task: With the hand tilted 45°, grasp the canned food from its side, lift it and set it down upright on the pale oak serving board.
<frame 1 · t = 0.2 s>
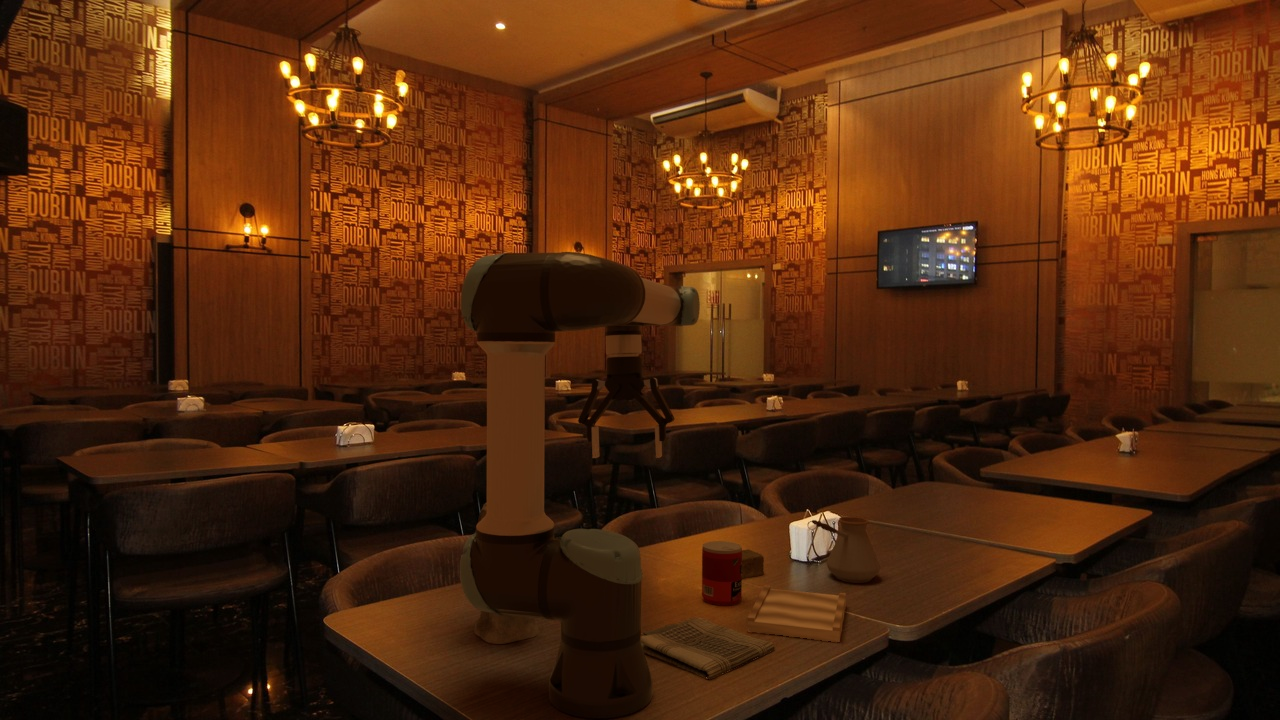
hand: (627, 457, 164), 28 cm above the table, tool pointing down, fingers open, 13 cm apart
figurine: (504, 633, 139), on the table
board: (798, 618, 147), on the table
stone block: (738, 576, 175), on the table
canned food: (721, 600, 158), on the table
dish towel: (701, 653, 132), on the table
coffee pot: (840, 583, 170), on the table
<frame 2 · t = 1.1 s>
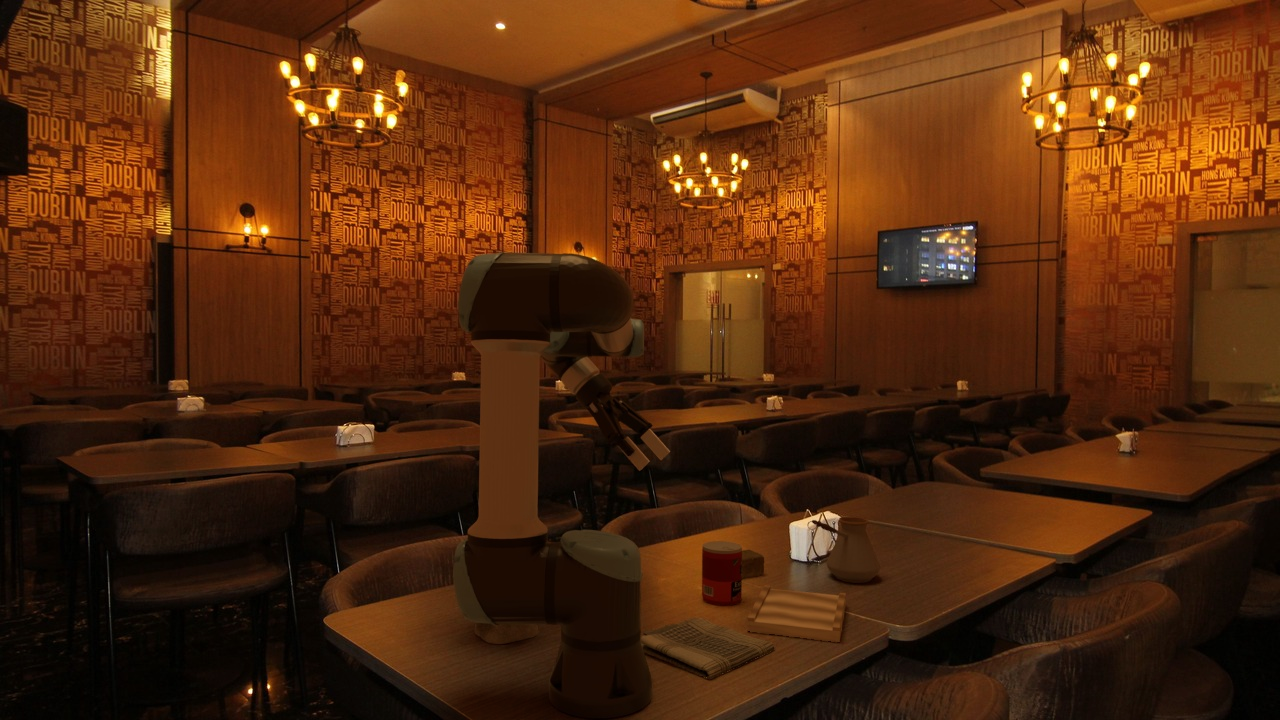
hand: (655, 461, 158), 28 cm above the table, tool tilted 45°, fingers open, 13 cm apart
nothing on the table moved.
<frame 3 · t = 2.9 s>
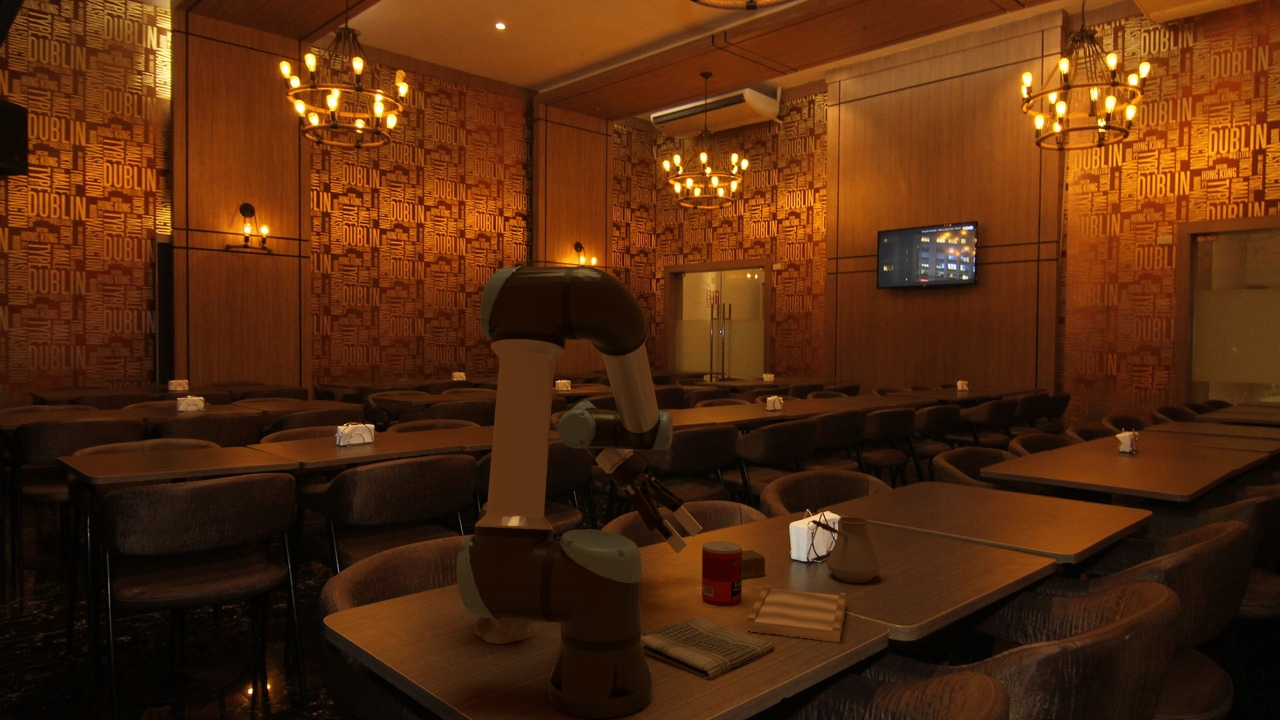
hand: (690, 540, 161), 11 cm above the table, tool tilted 45°, fingers open, 13 cm apart
nothing on the table moved.
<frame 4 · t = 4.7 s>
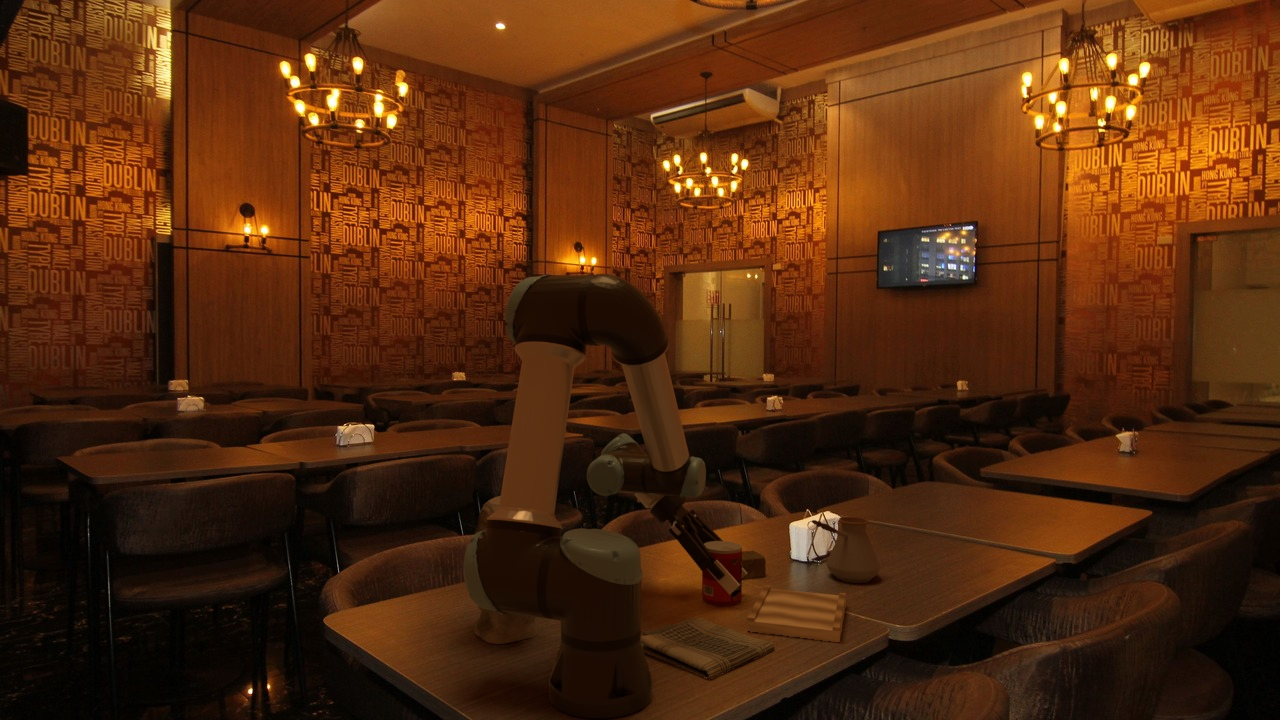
hand: (738, 583, 157), 4 cm above the table, tool tilted 45°, fingers closed on canned food, 8 cm apart
canned food: (721, 600, 158), on the table, touching gripper
everything else where it was.
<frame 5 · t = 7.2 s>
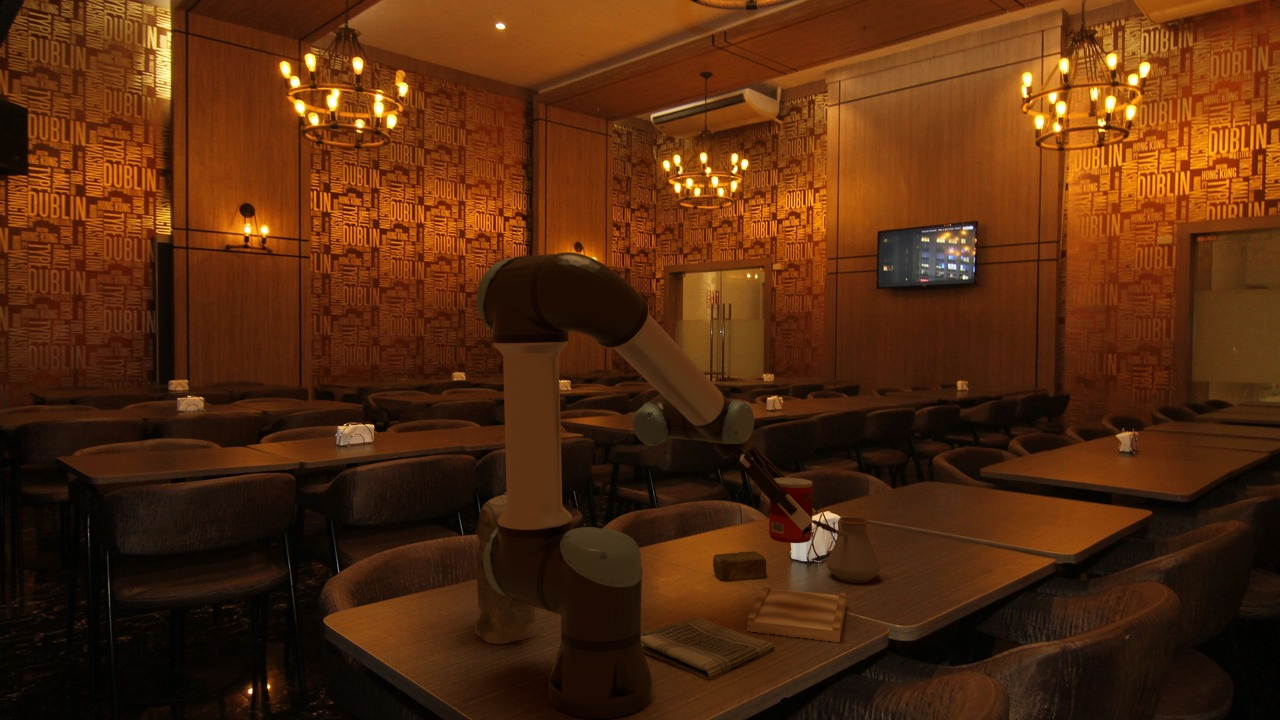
hand: (809, 520, 148), 18 cm above the table, tool tilted 45°, fingers closed on canned food, 8 cm apart
canned food: (790, 539, 149), point 14 cm above the table, touching gripper
when the fingers open (7 cm above the table, at t = 9.9 s): canned food drops 1 cm, resting on board.
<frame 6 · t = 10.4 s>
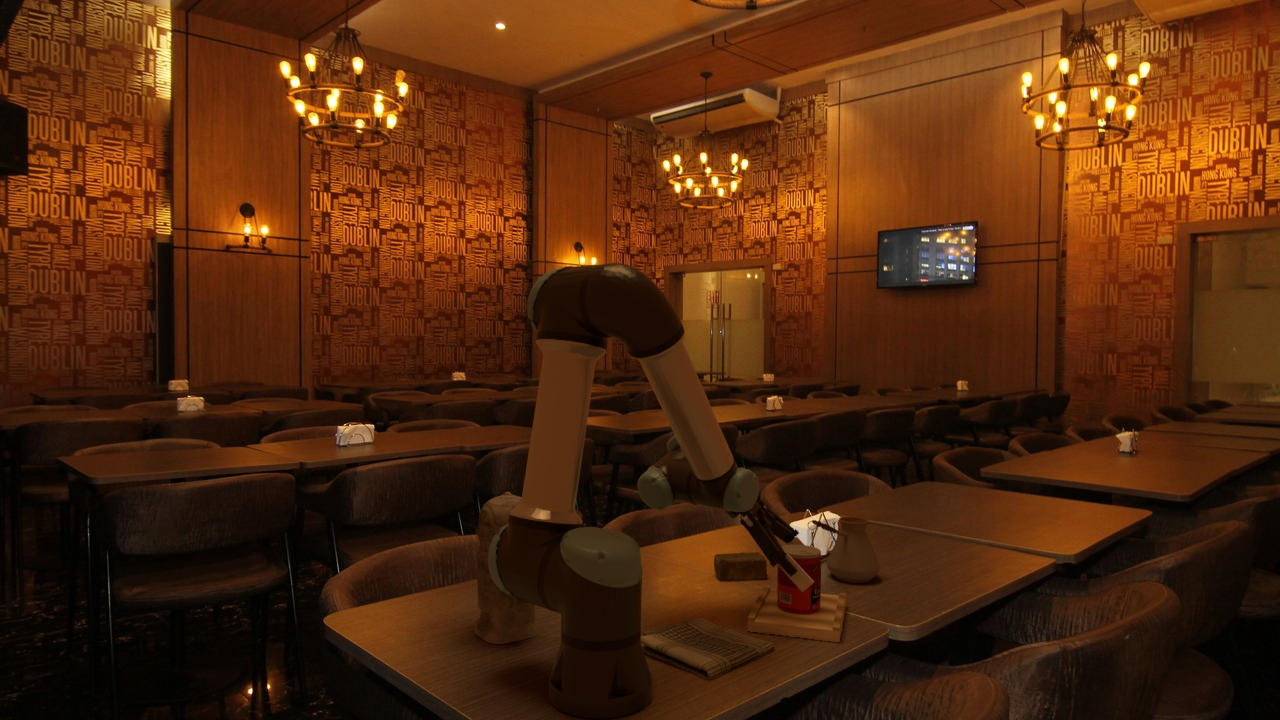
hand: (812, 576, 146), 8 cm above the table, tool tilted 45°, fingers open, 13 cm apart
canned food: (798, 608, 147), point 2 cm above the table, touching board
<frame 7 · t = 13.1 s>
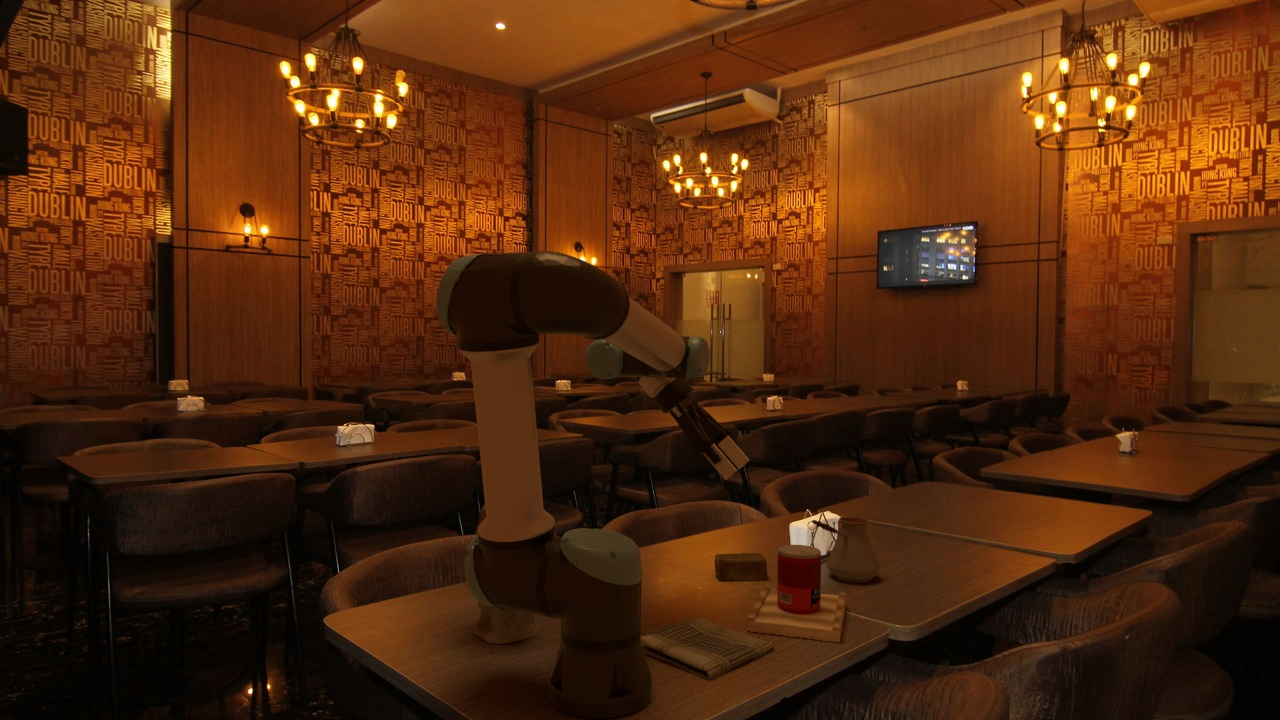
hand: (738, 470, 150), 27 cm above the table, tool tilted 45°, fingers open, 13 cm apart
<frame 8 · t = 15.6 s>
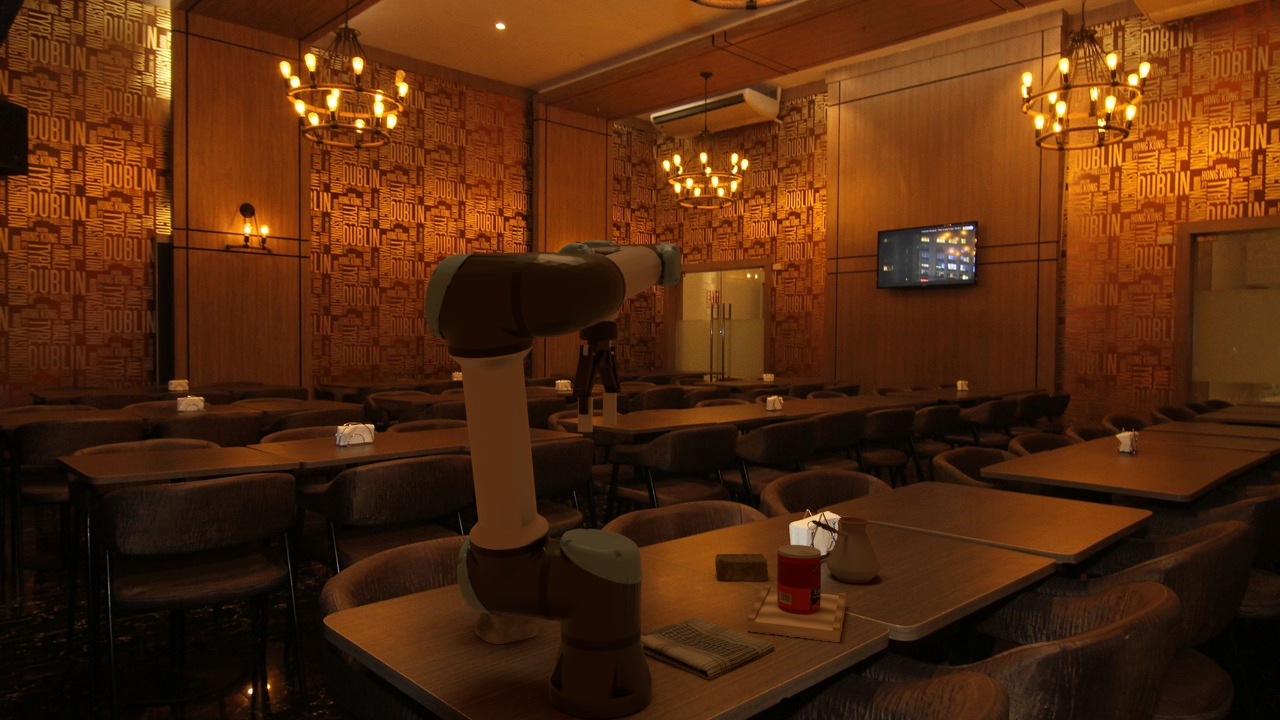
hand: (597, 428, 154), 35 cm above the table, tool pointing down, fingers open, 13 cm apart
at the end: canned food inside the target area on the board (0.1 cm from its centre), point 1.8 cm above the board's base; canned food tilted 0°; the gripper is holding nothing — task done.
